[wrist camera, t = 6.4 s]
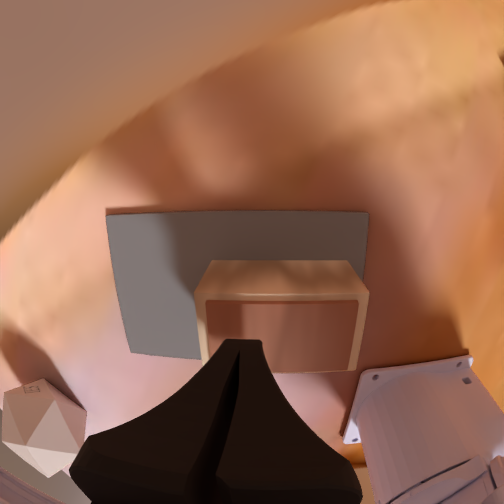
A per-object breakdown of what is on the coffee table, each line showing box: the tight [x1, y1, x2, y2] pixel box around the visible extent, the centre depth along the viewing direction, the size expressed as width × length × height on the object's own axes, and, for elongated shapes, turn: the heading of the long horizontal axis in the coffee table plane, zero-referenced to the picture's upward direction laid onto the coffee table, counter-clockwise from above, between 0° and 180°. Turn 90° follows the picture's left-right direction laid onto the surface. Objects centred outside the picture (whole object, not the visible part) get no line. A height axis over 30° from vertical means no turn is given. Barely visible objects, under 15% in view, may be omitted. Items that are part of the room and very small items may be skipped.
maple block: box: [194, 260, 370, 373], centre depth 14 cm, size 4×4×7 cm
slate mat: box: [106, 210, 369, 360], centre depth 16 cm, size 14×9×1 cm, turn 91°
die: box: [2, 378, 87, 478], centre depth 18 cm, size 8×9×10 cm
